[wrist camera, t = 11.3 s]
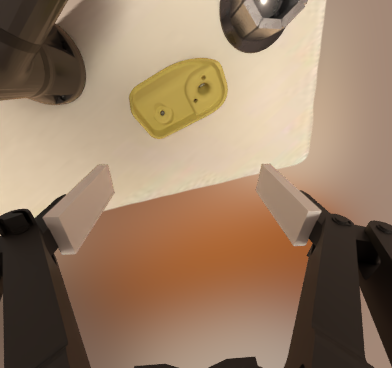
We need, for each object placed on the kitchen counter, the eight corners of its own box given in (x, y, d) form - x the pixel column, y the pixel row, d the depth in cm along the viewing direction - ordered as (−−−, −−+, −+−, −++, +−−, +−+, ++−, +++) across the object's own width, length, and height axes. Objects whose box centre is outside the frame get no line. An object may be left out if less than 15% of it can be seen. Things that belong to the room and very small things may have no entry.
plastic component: (156, 141, 43) (127, 109, 35) (154, 123, 47) (128, 90, 39) (232, 103, 38) (219, 55, 31) (223, 86, 43) (209, 41, 35)
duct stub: (208, 33, 35) (212, 25, 30) (241, -67, 29) (252, -97, 24) (266, 64, 39) (278, 62, 34) (307, -20, 32) (328, -38, 28)
